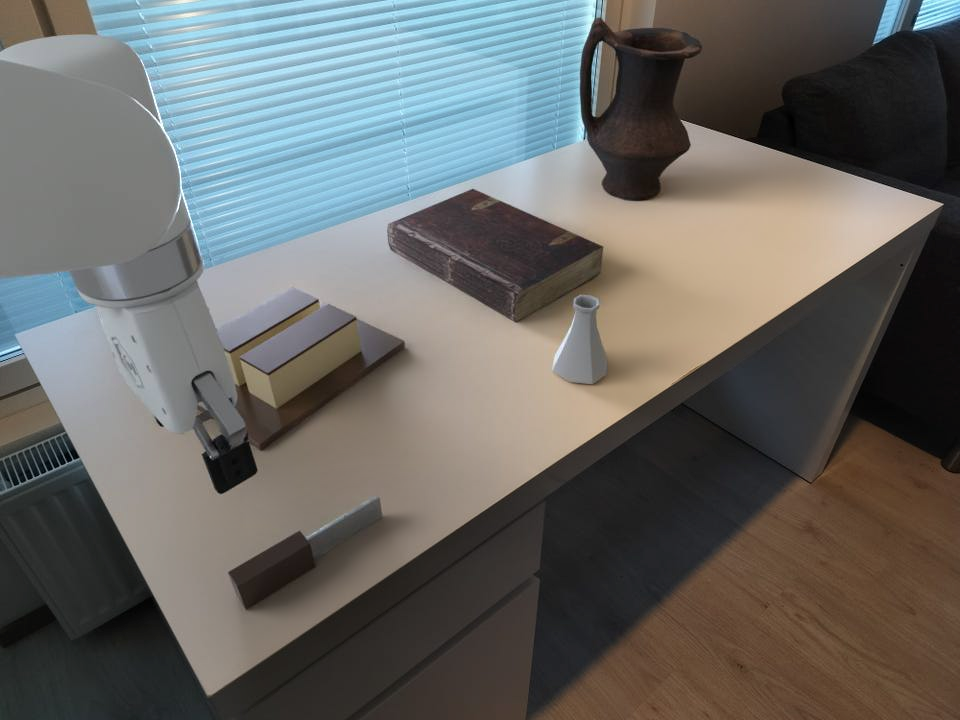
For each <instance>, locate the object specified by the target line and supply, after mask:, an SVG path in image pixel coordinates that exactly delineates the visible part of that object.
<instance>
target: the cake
mask: <svg viewBox="0 0 960 720" xmlns="http://www.w3.org/2000/svg"><path fill="white" fill-rule="evenodd" d="M319 301H320V300H319V298H318V297H315V296H313V295H311V294H309V293H307V292H304V291H302V290H300V289H298V288H296V287H294V286H291V287H289V288H287V289H286V290H284V291H282V292H281V293H279V294H277V295H275V296H273V297H271V298H269V299H268V300H267V301H264V302H263V303H261V304H258V305H257V306H255V307H253V308H252V309H250V310H248V311H246V312H245V313H243V314H241V315H239V316H237V317H236V318H233V319H232V320H230V321H228V322H226V323H225V324H223V325H220V326H219V327H216V329H217V332H218V335H219V338H220V340H221V343H222V346H223V348H224V351H225V354H226V357H227V360H228V363H229V366H230V369H231V372H232V376H233V379H234V383H235V384H236V385H238V386H241V385H243V384H244V383H247V386H248V390H249V392H250V393H251V394H253V395H255V396H256V397H258V398H260V399H261V400H263V401H264V402H266V403H268V404H269V405H271V406H273V407H274V408H276V409H277V408H279V407H280V406H282V405H283V404H285V403H286V402H288V401H289V400H290V399H292V398H293V397H295V396H296V395H298V394H299V393H301V392H302V391H304V390H305V389H307V388H308V387H309V386H311V385H312V384H314V383H315V382H317V381H318V380H320V379H321V378H323V377H324V376H326V375H327V374H328V373H330V372H331V371H333V370H334V369H336V368H337V367H339V366H340V365H342V364H343V363H345V362H346V361H347V360H349V359H350V358H352V357H353V356H355V355H356V354H358V353H359V352H361V346H360V339H359V332H358V325H357V319H358V318H357V316H356V315H354V314H351V313H349V312H347V311H346V310H342V309H341V308H338V307H336V306H335V305H332V304H330V303H327V305H325V306H324V307H322V308H320V304H319Z"/></svg>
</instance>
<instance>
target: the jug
mask: <svg viewBox="0 0 960 720" xmlns="http://www.w3.org/2000/svg"><path fill="white" fill-rule="evenodd" d="M601 42H603V43H605V44H606V45H608V46H609V47H611V48H612V49H613V51H615V53H616V58H617V63H618V64H617V76H616V80H615V81H616V82H615V93H614V96H613V98H612V100H611V102H610V104H609V105H608V107H607V108H606V109H605V110H604V111H603V112H602V113H601V114H600V115H599V116H594V115H593V110H592V109H593V83H592V73H593V71H592V70H593V69H592V66H593V62H594V57H595V53H596V50H597V47H598V45H599V43H601ZM702 49H703V45H702V44H701V42H700V41H699V40H698V39H697V38H696V37H692V36H691V35H690V34H688V33H687V32H683V31H680V30H676V29H672V28H666V27H640V28H639V27H637V28H629V29H624V30H619V31H613V30H612V28H611V27H610V26H609V25H608V24H607V23H606V21H604V19H603V18H602V16H601V17H600V16H599V17H596V18H594V19H593V22H592V24H591V26H590V29H589V32H588V35H587V38H586V40H585V42H584V45H583V47H582V52H581V55H580V56H581V59H580V67H579V101H580V103H579V104H580V116H581V122H582V124H583V126H584V129H585V132H586V139H587V140H586V141H587V142H588V145H589V146H590V148H591V149H592V151H593V152H594V153H595V155H596V157H597V158H598V159H599V161H600V162H601V164H602V166H603V168H604V170H605V172H606V173H605V176H604V177H603V179H601V185H602V189H603V190H604V191H605V192H606V194H608V195H609V196H611V197H615V198H619V199H621V200H624V201H646V200H649V199H652V198H654V197H655V196H657V195H659V194H660V192H661V189H662V185H661V182H660V177H661V175H662V174H663V173H664V171H665V170H666V169H668V167H669V166H671V165H672V164H673V163H674V162H675V161H676V160H678V159H679V158H680V157H681V156H683V155H685V154H686V153H688V151H689V150H690V148H691V147H692V145H691V141H690V137H689V133H688V130H687V128H686V126H685V125H684V123H683V122H682V119H680V116H679V115H678V113H677V111H676V109H675V106H674V99H675V93H676V90H677V86H678V82H679V79H680V76H681V72H682V69H683V66H684V64H685V60H686V59H692V58H695V57H696V56H698V55H699V54H700V53H701V52H702Z"/></svg>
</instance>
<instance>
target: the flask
mask: <svg viewBox="0 0 960 720" xmlns="http://www.w3.org/2000/svg"><path fill="white" fill-rule="evenodd" d="M600 303H601V299H599V298H597V297H596V296H593V295H589V294H579V295H578V296H576V297H575V298H573V309H574V316H573V320H572V322H571V325H570V327H569V329H568V331H567V333H566V335H565V337H564V339H563V341H562V342H561V343H560V346H559V348H558V350H557V352H556V353H555V354H554V357H553V361H552V369H551V372H552V373H554V374H555V375H557V376H559V377H560V378H562V379H564V380H566V381H567V382H569V383H576V384H587V385H593V384H595V383H597V382H598V381H600V380H601V379H602V378H603V377H604V378H605V376H607V375H608V357H607V353H606V351H605V348H604V345H603V342H602V339H601V336H600V335H601V334H600V331H599V328H598V322H597V321H598V320H597V311H598V310H599V309H600Z"/></svg>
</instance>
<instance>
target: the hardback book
mask: <svg viewBox="0 0 960 720" xmlns="http://www.w3.org/2000/svg"><path fill="white" fill-rule="evenodd" d="M386 232H387V234H386V235H387V243H388V247H389V249H390V251H392V252H394V253H395V254H398V256H400V257H402V258H404V259H405V260H408V261H409V262H411V263H412V264H414V265H416V266H418V267H419V268H421V269H423V270H425V271H426V272H428V273H430V274H431V275H433V276H435V277H437V278H438V279H440V280H442V281H444V282H445V283H447V284H449V285H451V286H452V287H454V288H455V289H457V290H459V291H461V292H463V293H464V294H466V295H468V296H469V297H471V298H473V299H474V300H476V301H478V302H480V303H481V304H483V305H485V306H487V307H488V308H490V309H492V310H494V311H495V312H497V313H499V314H500V315H502V316H503V317H506V318H507V319H509V320H511V321H512V322H514V323H518V322H519V321H521V320H523V319H524V318H526V317H528V316H529V315H531V314H533V313H535V312H537V311H538V310H540V309H541V308H543V307H545V306H547V305H548V304H550V303H552V302H554V301H555V300H557V299H559V298H561V297H562V296H564V295H566V294H568V293H569V292H570V291H573V290H574V289H576V288H577V287H579V286H581V285H583V284H584V283H586V282H588V281H590V280H591V279H593V278H595V277H597V276H598V275H600V274H601V271H602V264H603V263H602V262H603V254H604V246H603V245H601V244H599V243H596V242H594V241H593V240H590V239H587V238H585V237H584V236H581V235H578V234H576V233H574V232H572V231H570V230H567V229H565V228H563V227H561V226H558V225H556V224H554V223H551V222H549V221H547V220H545V219H542V218H541V217H538V216H535V214H534V215H533V214H531V213H529V212H527V211H525V210H522V209H520V208H518V207H515V206H514V205H511V204H508V203H506V202H504V201H502V200H499V199H498V198H496V197H493V196H491V195H488V194H487V193H484V192H481V191H479V190H477V189H475V188H470V189H469V190H466V191H464V192H462V193H459V194H456V195H454V196H452V197H449V198H447V199H445V200H442V201H440V202H438V203H434V204H433V205H429V206H428V207H425V208H423V209H421V210H418V211H416V212H413V213H411V214H408V215H406V216H403V217H402V218H399V219H396V220H394V221H392V222H390V223H388V224H387V230H386Z"/></svg>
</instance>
